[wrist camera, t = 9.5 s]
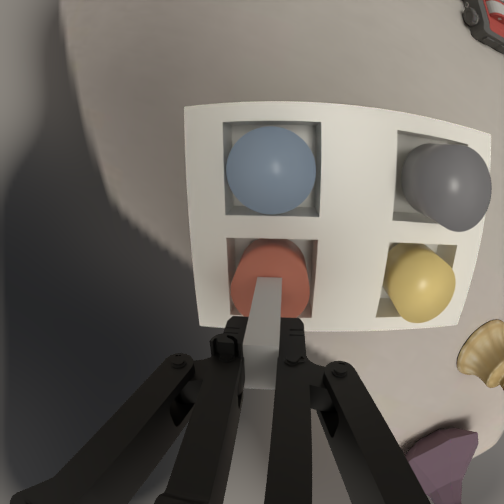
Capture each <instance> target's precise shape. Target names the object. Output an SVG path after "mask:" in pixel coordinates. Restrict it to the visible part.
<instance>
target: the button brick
mask: <svg viewBox="0 0 504 504" xmlns="http://www.w3.org/2000/svg"><path fill="white" fill-rule="evenodd" d="M257 277H277V278H282V295H281V317H285V318H297V317H298V316H299V315H300V314H301V313H302V312H303V310H304V309H305V307H306V306H307V303H308V301H309V296H310V287H309V281H308V274H307V268H306V261H305V258H304V255H303V253H302V251H301V250H300V249H299V247H298V246H297V245H296V244H294V243H293V242H292V241H290V240H288V239H269V238H259V239H257V240H255V241H254V242H252V243H251V244H250V245H249V246H248V247H247V248H246V249H245V251H244V252H243V254H242V257H241V259H240V262H239V264H238V267H237V269H236V272H235V274H234V277H233V280H232V283H231V297H232V301H233V303H234V305H235V307H236V308H237V310H238V311H239V312H240V313H241V314H242V315H243V316H245V317H249V313H250V309H251V304H252V300H253V295H254V291H255V286H256V281H257Z"/></svg>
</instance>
